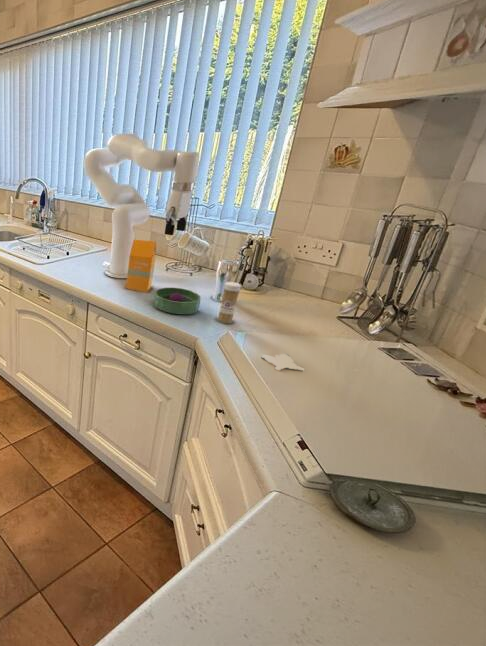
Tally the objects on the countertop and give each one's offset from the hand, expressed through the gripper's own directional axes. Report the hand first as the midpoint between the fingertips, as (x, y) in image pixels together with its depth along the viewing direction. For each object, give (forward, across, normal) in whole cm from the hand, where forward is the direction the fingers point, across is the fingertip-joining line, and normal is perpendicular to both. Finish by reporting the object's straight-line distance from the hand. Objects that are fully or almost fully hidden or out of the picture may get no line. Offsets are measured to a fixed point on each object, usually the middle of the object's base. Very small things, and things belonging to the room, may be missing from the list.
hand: (174, 232), depth 153 cm
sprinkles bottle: (+23, +15, +28) cm, 40 cm away
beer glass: (+24, -5, +20) cm, 31 cm away
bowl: (+24, +15, +12) cm, 30 cm away
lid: (+22, +76, +73) cm, 108 cm away
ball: (+23, +15, +12) cm, 30 cm away
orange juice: (+24, +6, -9) cm, 26 cm away
